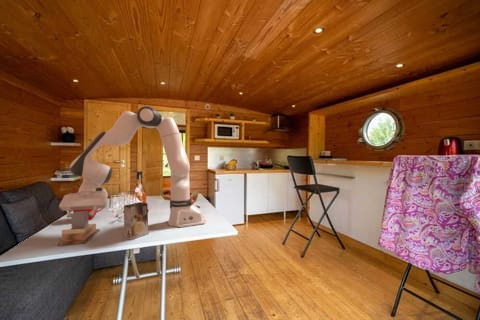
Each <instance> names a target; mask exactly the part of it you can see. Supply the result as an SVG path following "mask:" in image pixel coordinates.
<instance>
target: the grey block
mask: <svg viewBox="0 0 480 320" xmlns="http://www.w3.org/2000/svg"><path fill="white" fill-rule="evenodd" d="M70 218H71V219H70V220H71V228H72V229H80V228H87V227H89V224H90V223H89V220H88V211H77V212H75V213H71V217H70Z"/></svg>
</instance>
